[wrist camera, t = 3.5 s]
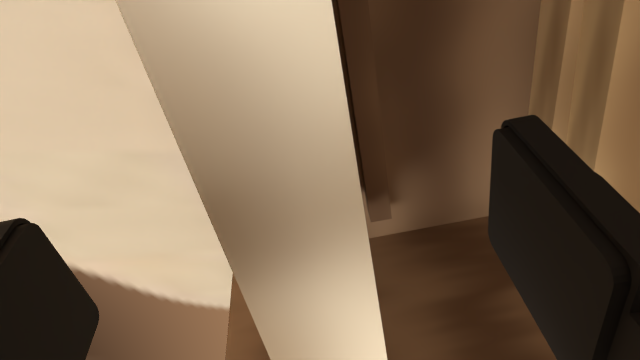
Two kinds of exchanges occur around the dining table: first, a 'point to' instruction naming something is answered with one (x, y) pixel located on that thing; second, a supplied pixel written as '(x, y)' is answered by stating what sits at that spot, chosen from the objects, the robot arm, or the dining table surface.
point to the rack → (431, 172)
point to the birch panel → (270, 162)
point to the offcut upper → (609, 95)
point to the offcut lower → (556, 63)
